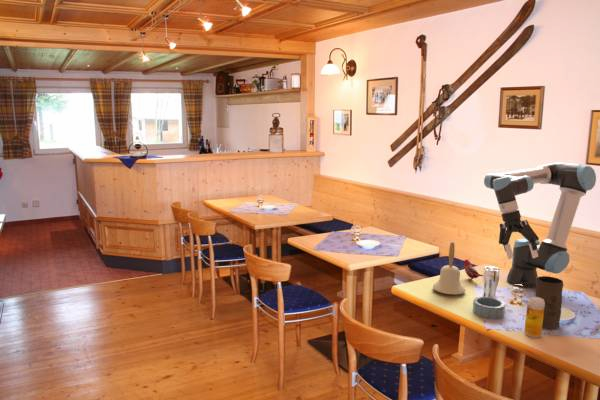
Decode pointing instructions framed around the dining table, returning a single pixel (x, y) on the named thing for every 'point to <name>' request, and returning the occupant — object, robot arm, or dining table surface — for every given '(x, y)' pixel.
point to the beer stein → (550, 300)
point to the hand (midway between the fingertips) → (523, 258)
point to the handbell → (449, 277)
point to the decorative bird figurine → (470, 270)
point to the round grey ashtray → (488, 307)
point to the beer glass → (490, 281)
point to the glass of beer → (534, 316)
